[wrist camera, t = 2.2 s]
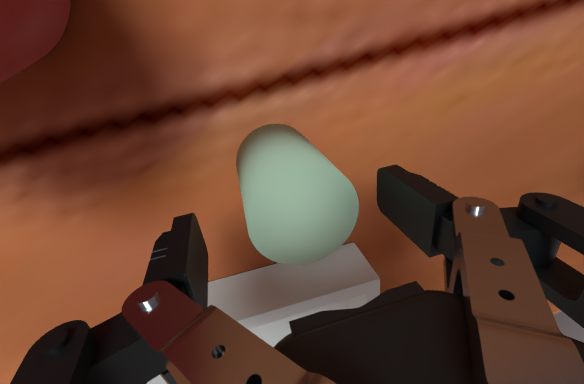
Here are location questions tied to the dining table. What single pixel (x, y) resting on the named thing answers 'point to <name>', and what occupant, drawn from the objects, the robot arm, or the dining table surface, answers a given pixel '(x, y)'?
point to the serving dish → (293, 292)
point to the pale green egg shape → (293, 196)
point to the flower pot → (29, 32)
